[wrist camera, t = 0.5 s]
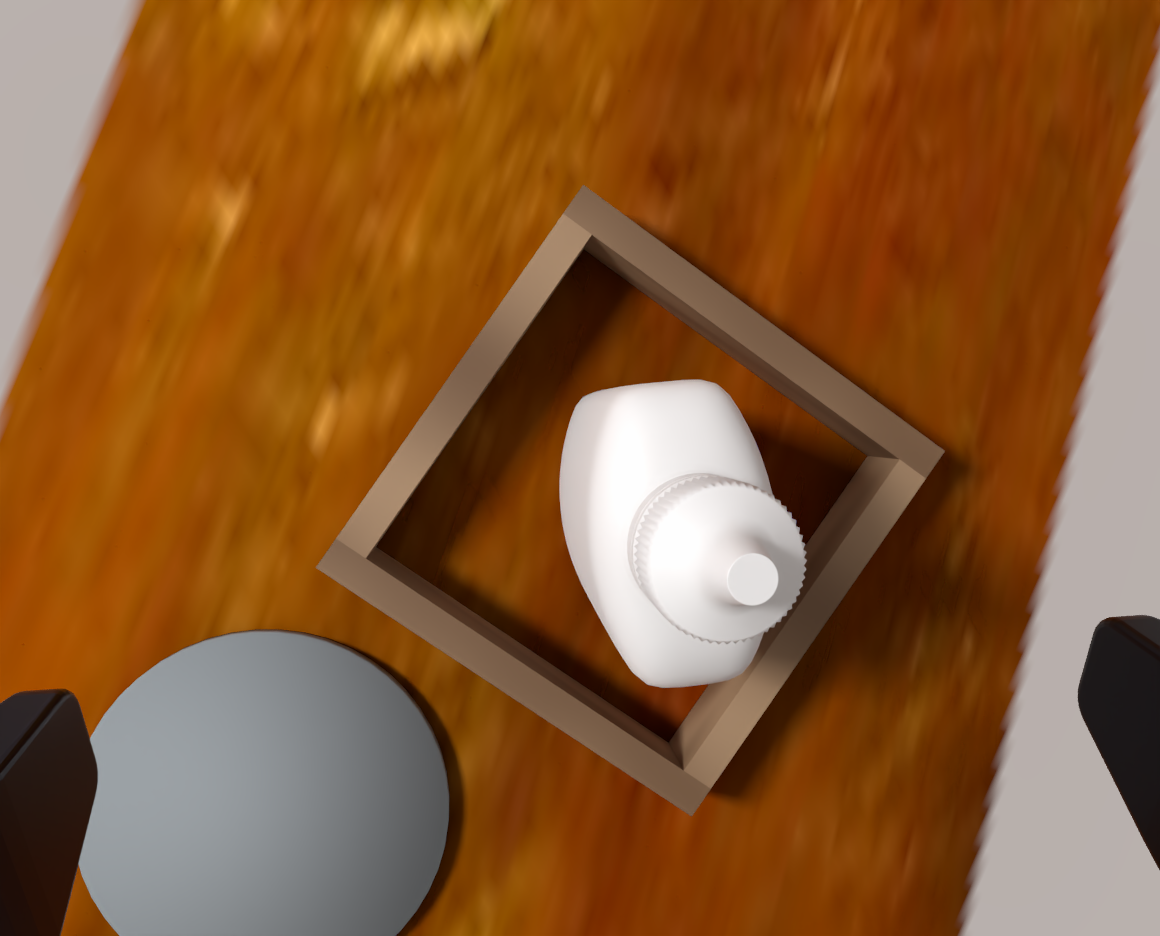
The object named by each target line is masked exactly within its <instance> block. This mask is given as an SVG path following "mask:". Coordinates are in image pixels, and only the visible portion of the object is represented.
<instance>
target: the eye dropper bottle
mask: <svg viewBox="0 0 1160 936" xmlns="http://www.w3.org/2000/svg"><path fill="white" fill-rule="evenodd" d="M560 509H561V517H562V524H563V529H564V534H565V538H566V543H567V547H568V550H569V553H570V556H571V560H572V562H573V565H574V568H575V570H576V573H577V575H578V577H579V579H580V582H581V584H582V586H583V588H584V590H585V592H586V594H587V596H588V598H589V599H590V601H591V603H592V605H593V607H594V609H595V611H596V612H597V614H598V616H599V618H600V620H601V622H602V624H603V625H604V627H605V629H606V631H607V632H608V634H609V636H610V638H611V640H612V641H613V643H614V645H615V647H616V648H617V650H618V651H619V653H620V654H621V656H622V658H623V659H624V661H625V662H626V664H627V665H628V667H629V668H630V670H631V671H632V672H633V673H634V674H635V675H636V676H638V677H639V678H640V679H641V680H642V681H644V682H645V683H646V684H648V685H652V686H656V687H661V688H670V687H686V686H696V685H704V684H711V683H717V682H722V681H727V680H730V679H732V678H734V677H736V676H738V675H740V674H742V673H743V672H744V671H745V669H746V668H747V667H748V666H749V665H750V663H751V662H752V660H753V658H754V656H755V654H756V652H757V650H758V647H759V645H760V642H761V639H762V637H763V634H764V632H768V630H769V628H770V627H775V624H776V622H781V619H782V617H783V616H787V611H788V610H790V609H792V604H793V603H795V602H796V596H798V595H799V594H800V591H799V589H800V588H801V587H803V584H802V581H803V580H804V579H805V576H804V574H803V573H804V572H805V571H806V568H805V566H804V565H805V563H806V562H807V560H806V559H805V558H804V557H805V555H806V551H804V550H803V549H804V546H805V543H803V542H802V538H803V535H800V534H799V531H800V527H797V526H796V520H795V519H792V513H790V512H787V508H786V506H783V505H781V501H780V500H777V499H775V498H774V495H773V494H772V490H771V486H770V482H769V478H768V475H767V472H766V469H765V466H764V463H763V460H762V457H761V454H760V452H759V449H758V447H757V444H756V442H755V439H754V437H753V435H752V433H751V431H750V429H749V427H748V425H747V423H746V421H745V420H744V418H743V416H742V414H741V412H740V410H739V409H738V407H737V406H736V404H735V403H734V401H733V400H732V398H731V397H730V395H729V394H728V393H727V392H726V391H724V390H723V389H722V388H721V387H720V386H719V385H718V384H716V383H713V382H708V381H704V380H700V379H699V380H678V381H667V382H656V383H646V384H636V385H629V386H622V387H616V388H611V389H606V390H601V391H597V392H593V393H591V394H589V395H586V396H584V397H583V398H582V399H581V400H580V401H579V403H578V404H577V405H576V407H575V409H574V412H573V414H572V417H571V420H570V423H569V426H568V430H567V434H566V438H565V442H564V447H563V453H562V459H561V468H560Z"/></svg>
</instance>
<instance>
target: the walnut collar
mask: <svg viewBox="0 0 1160 936" xmlns="http://www.w3.org/2000/svg"><path fill="white" fill-rule="evenodd" d="M583 249H584V250H585V251H587V252H588V253H589V254H591V255H592V256H593V257H595V258H596V259H598V260H599V261H600V262H602V263H603V264H604V265H606V266H607V267H609V268H610V269H611V270H613V271H614V272H615V273H617V274H618V275H620V276H621V277H622V278H624V279H625V280H626V281H628V282H629V283H631V284H632V285H633V286H635V287H636V288H637V289H639V290H640V291H641V292H643V293H644V294H646V295H647V296H648V297H650V298H651V299H652V300H654V301H655V302H657V303H658V304H659V305H661V306H662V307H663V308H665V309H666V310H668V311H669V312H670V313H672V314H673V315H674V316H676V317H677V318H679V319H680V320H681V321H683V322H684V323H685V324H687V325H688V326H690V327H691V328H692V329H694V330H695V331H696V332H698V333H699V334H701V335H702V336H703V337H705V338H706V339H707V340H709V341H710V342H712V343H713V344H714V345H716V346H717V347H718V348H720V349H721V350H723V351H724V352H725V353H727V354H728V355H729V356H731V357H732V358H734V359H735V360H736V361H738V362H739V363H740V364H742V365H743V366H745V367H746V368H747V369H749V370H750V371H751V372H753V373H754V374H756V375H757V376H758V377H760V378H761V379H762V380H764V381H765V382H767V383H768V384H769V385H771V386H772V387H773V388H775V389H776V390H778V391H779V392H780V393H782V394H783V395H784V396H786V397H787V398H789V399H790V400H791V401H793V402H794V403H795V404H797V405H798V406H800V407H801V408H802V409H804V410H805V411H806V412H808V413H809V414H811V415H812V416H813V417H815V418H816V419H817V420H819V421H820V422H822V423H823V424H824V425H826V426H827V427H828V428H830V429H831V430H833V431H834V432H835V433H837V434H838V435H839V436H841V437H842V438H844V439H845V440H846V441H848V442H849V443H850V444H852V445H853V446H855V447H856V448H857V449H859V450H860V451H861V452H863V453H864V454H866V455H867V457H866V459H865V460H864V462H863V463H862V465H861V466H860V468H859V469H858V470H857V472H856V473H855V475H854V476H853V478H852V479H851V481H850V482H849V483H848V485H847V486H846V488H845V489H844V491H843V492H842V494H841V495H840V496H839V498H838V499H837V501H836V502H835V504H834V505H833V506H832V508H831V509H830V511H829V512H828V514H827V515H826V517H825V518H824V519H823V521H822V522H821V524H820V525H819V527H818V528H817V530H816V531H815V532H814V534H813V535H812V537H811V538H810V540H809V541H808V542H807V544H806V545H805V547H804V549H803V550H804V551H806V555H805V557H804V558H805V559H806V560H807V562H806V563H805V565H804V566H805V568H806V571H805V572H804V573H803V574H804V576H805V579H804V580H803V581H802V584H803V587H801V588H800V589H799V591H800V594H799V595H798V596H796V602H795V603H793V604H792V609H790V610H788V611H787V616H783V617H782V619H781V622H776V624H775V627H770V628H769V630H768V632H764V634H763V637H762V639H761V642H760V645H759V647H758V650H757V652H756V654H755V656H754V658H753V660H752V662H751V663H750V665H749V666H748V667H747V668H746V669H745V671H744V672H743V673H742V674H740V675H738V676H736V677H734V678H732V679H730V680H727V681H722V682H717V683H711V684H709V685H708V687H707V688H706V689H705V691H704V692H703V694H702V695H701V697H700V698H699V700H698V701H697V702H696V704H695V705H694V707H693V708H692V710H691V711H690V713H689V714H688V715H687V717H686V718H685V720H684V721H683V723H682V724H681V725H680V727H679V728H678V730H677V731H676V733H675V734H674V736H673V737H672V738H671V740H670V741H669V743H668V742H667V741H665V740H664V739H662V738H661V737H659V736H658V735H656V734H655V733H653V732H652V731H650V730H649V729H647V728H646V727H644V726H643V725H641V724H640V723H638V722H637V721H635V720H634V719H632V718H631V717H629V716H628V715H626V714H625V713H623V712H622V711H620V710H619V709H617V708H616V707H614V706H613V705H611V704H610V703H608V702H607V701H605V700H604V699H602V698H601V697H600V696H598V695H597V694H595V693H594V692H592V691H591V690H589V689H588V688H586V687H585V686H583V685H582V684H580V683H579V682H577V681H576V680H574V679H573V678H571V677H570V676H568V675H567V674H565V673H564V672H562V671H561V670H559V669H558V668H556V667H555V666H553V665H552V664H550V663H549V662H547V661H546V660H544V659H543V658H541V657H540V656H538V655H537V654H535V653H534V652H532V651H531V650H529V649H528V648H526V647H525V646H523V645H522V644H520V643H519V642H517V641H516V640H514V639H513V638H511V637H510V636H508V635H507V634H505V633H504V632H502V631H501V630H499V629H498V628H496V627H495V626H493V625H492V624H491V623H489V622H488V621H486V620H485V619H483V618H482V617H480V616H479V615H477V614H476V613H474V612H473V611H471V610H470V609H468V608H467V607H465V606H464V605H462V604H461V603H459V602H458V601H456V600H455V599H453V598H452V597H450V596H449V595H447V594H446V593H444V592H443V591H441V590H440V589H438V588H437V587H435V586H434V585H432V584H431V583H429V582H428V581H426V580H425V579H423V578H422V577H420V576H419V575H417V574H416V573H414V572H413V571H411V570H410V569H408V568H407V567H405V566H404V565H402V564H401V563H399V562H398V561H396V560H395V559H393V558H392V557H390V556H389V555H387V554H386V553H384V552H383V551H381V550H380V549H379V548H377V547H376V546H377V544H378V543H379V541H380V540H381V539H382V537H383V536H384V534H385V533H386V531H387V530H388V529H389V527H390V526H391V524H392V523H393V521H394V520H395V519H396V517H397V516H398V514H399V513H400V511H401V510H402V508H403V507H404V506H405V504H406V503H407V501H408V500H409V498H410V497H411V496H412V494H413V493H414V491H415V490H416V488H417V487H418V486H419V484H420V483H421V481H422V480H423V478H424V477H425V476H426V474H427V473H428V471H429V470H430V468H431V467H432V466H433V464H434V463H435V461H436V460H437V458H438V457H439V456H440V454H441V453H442V451H443V450H444V448H445V447H446V445H447V444H448V443H449V441H450V440H451V438H452V437H453V435H454V434H455V433H456V431H457V430H458V428H459V427H460V425H461V424H462V423H463V421H464V420H465V418H466V417H467V415H468V414H469V413H470V411H471V410H472V408H473V407H474V405H475V404H476V403H477V401H478V400H479V398H480V397H481V395H482V394H483V393H484V391H485V390H486V388H487V387H488V385H489V384H490V382H491V381H492V380H493V378H494V377H495V375H496V374H497V372H498V371H499V370H500V368H501V367H502V365H503V364H504V362H505V361H506V360H507V358H508V357H509V355H510V354H511V352H512V351H513V350H514V348H515V347H516V345H517V344H518V342H519V341H520V340H521V338H522V337H523V335H524V334H525V332H526V331H527V330H528V328H529V327H530V325H531V324H532V322H533V321H534V319H535V318H536V317H537V315H538V314H539V312H540V311H541V309H542V308H543V307H544V305H545V304H546V302H547V301H548V299H549V298H550V297H551V295H552V294H553V292H554V291H555V289H556V288H557V287H558V285H559V284H560V282H561V281H562V279H563V278H564V277H565V275H566V274H567V272H568V271H569V269H570V268H571V267H572V265H573V264H574V262H575V261H576V259H577V258H578V257H579V255H580V254H581V252H582V251H583ZM944 452H945V451H944V450H943V449H941V448H940V447H939V446H937V445H936V444H935V443H933V442H932V441H931V440H929V439H928V438H926V437H925V436H924V435H922V434H921V433H920V432H918V431H917V430H916V429H914V428H913V427H912V426H910V425H909V424H907V423H906V422H905V421H903V420H902V419H901V418H899V417H898V416H897V415H895V414H894V413H893V412H891V411H890V410H888V409H887V408H886V407H884V406H883V405H882V404H880V403H879V402H878V401H876V400H875V399H874V398H872V397H871V396H869V395H868V394H867V393H865V392H864V391H863V390H861V389H860V388H859V387H857V386H856V385H854V384H853V383H852V382H850V381H849V380H848V379H846V378H845V377H844V376H842V375H841V374H840V373H838V372H837V371H835V370H834V369H833V368H831V367H830V366H829V365H827V364H826V363H825V362H823V361H822V360H821V359H819V358H818V357H816V356H815V355H814V354H812V353H811V352H810V351H808V350H807V349H806V348H804V347H803V346H802V345H800V344H799V343H797V342H796V341H795V340H793V339H792V338H791V337H789V336H788V335H787V334H785V333H784V332H782V331H781V330H780V329H778V328H777V327H776V326H774V325H773V324H772V323H770V322H769V321H768V320H766V319H765V318H763V317H762V316H761V315H759V314H758V313H757V312H755V311H754V310H753V309H751V308H750V307H749V306H747V305H746V304H744V303H743V302H742V301H740V300H739V299H738V298H736V297H735V296H734V295H732V294H731V293H730V292H728V291H727V290H725V289H724V288H723V287H721V286H720V285H719V284H717V283H716V282H715V281H713V280H712V279H710V278H709V277H708V276H706V275H705V274H704V273H702V272H701V271H700V270H698V269H697V268H696V267H694V266H693V265H691V264H690V263H689V262H687V261H686V260H685V259H683V258H682V257H681V256H679V255H678V254H677V253H675V252H674V251H672V250H671V249H670V248H668V247H667V246H666V245H664V244H663V243H662V242H660V241H659V240H658V239H656V238H655V237H653V236H652V235H651V234H649V233H648V232H647V231H645V230H644V229H643V228H641V227H640V226H638V225H637V224H636V223H634V222H633V221H632V220H630V219H629V218H628V217H626V216H625V215H624V214H622V213H621V212H619V211H618V210H617V209H615V208H614V207H613V206H611V205H610V204H609V203H607V202H606V201H605V200H603V199H602V198H600V197H599V196H598V195H596V194H595V193H594V192H592V191H591V190H590V189H588V188H587V187H586V186H584V185H583V186H582V188H581V189H580V190H579V192H578V193H577V195H576V196H575V198H574V199H573V200H572V202H571V203H570V205H569V206H568V208H567V209H566V210H565V212H564V213H563V215H562V216H561V218H560V219H559V220H558V222H557V223H556V225H555V226H554V228H553V229H552V230H551V232H550V233H549V235H548V236H547V238H546V239H545V240H544V242H543V243H542V245H541V246H540V248H539V249H538V250H537V252H536V253H535V255H534V256H533V258H532V259H531V261H530V262H529V263H528V265H527V266H526V268H525V269H524V271H523V272H522V273H521V275H520V276H519V278H518V279H517V281H516V282H515V283H514V285H513V286H512V288H511V289H510V291H509V292H508V293H507V295H506V296H505V298H504V299H503V301H502V302H501V303H500V305H499V306H498V308H497V309H496V311H495V312H494V313H493V315H492V316H491V318H490V319H489V321H488V322H487V323H486V325H485V326H484V328H483V329H482V331H481V332H480V333H479V335H478V336H477V338H476V339H475V341H474V342H473V343H472V345H471V346H470V348H469V349H468V351H467V352H466V354H465V355H464V356H463V358H462V359H461V361H460V362H459V364H458V365H457V366H456V368H455V369H454V371H453V372H452V374H451V375H450V376H449V378H448V379H447V381H446V382H445V384H444V385H443V386H442V388H441V389H440V391H439V392H438V394H437V395H436V396H435V398H434V399H433V401H432V402H431V404H430V405H429V406H428V408H427V409H426V411H425V412H424V414H423V415H422V416H421V418H420V419H419V421H418V422H417V424H416V425H415V426H414V428H413V429H412V431H411V432H410V434H409V435H408V436H407V438H406V439H405V441H404V442H403V444H402V445H401V447H400V448H399V449H398V451H397V452H396V454H395V455H394V457H393V458H392V459H391V461H390V462H389V464H388V465H387V467H386V468H385V469H384V471H383V472H382V474H381V475H380V477H379V478H378V479H377V481H376V482H375V484H374V485H373V487H372V488H371V489H370V491H369V492H368V494H367V495H366V497H365V498H364V499H363V501H362V502H361V504H360V505H359V507H358V508H357V509H356V511H355V512H354V514H353V515H352V517H351V518H350V519H349V521H348V522H347V524H346V525H345V527H344V528H343V529H342V531H341V532H340V534H339V535H338V537H337V538H336V540H335V541H334V542H333V544H332V545H331V547H330V548H329V550H328V551H327V552H326V554H325V555H324V557H323V558H322V560H321V561H320V562H319V564H318V565H317V567H316V568H317V569H319V570H320V571H322V572H323V573H325V574H326V575H328V576H329V577H331V578H332V579H334V580H335V581H337V582H338V583H340V584H341V585H343V586H344V587H346V588H347V589H349V590H350V591H352V592H353V593H355V594H356V595H358V596H359V597H361V598H362V599H364V600H365V601H367V602H368V603H370V604H371V605H373V606H374V607H376V608H377V609H379V610H381V611H382V612H384V613H385V614H387V615H388V616H390V617H391V618H393V619H394V620H396V621H397V622H399V623H400V624H402V625H403V626H405V627H406V628H408V629H409V630H411V631H412V632H414V633H415V634H417V635H418V636H420V637H421V638H423V639H424V640H426V641H427V642H429V643H430V644H432V645H433V646H435V647H436V648H438V649H439V650H441V651H442V652H444V653H445V654H447V655H448V656H450V657H452V658H453V659H455V660H456V661H458V662H459V663H461V664H462V665H464V666H465V667H467V668H468V669H470V670H471V671H473V672H474V673H476V674H477V675H479V676H480V677H482V678H483V679H485V680H486V681H488V682H489V683H491V684H492V685H494V686H495V687H497V688H498V689H500V690H501V691H503V692H504V693H506V694H507V695H509V696H510V697H512V698H513V699H515V700H516V701H518V702H520V703H521V704H523V705H524V706H526V707H527V708H529V709H530V710H532V711H533V712H535V713H536V714H538V715H539V716H541V717H542V718H544V719H545V720H547V721H548V722H550V723H551V724H553V725H554V726H556V727H557V728H559V729H560V730H562V731H563V732H565V733H566V734H568V735H569V736H571V737H572V738H574V739H575V740H577V741H578V742H580V743H581V744H583V745H584V746H586V747H587V748H589V749H591V750H592V751H594V752H595V753H597V754H598V755H600V756H601V757H603V758H604V759H606V760H607V761H609V762H610V763H612V764H613V765H615V766H616V767H618V768H619V769H621V770H622V771H624V772H625V773H627V774H628V775H630V776H631V777H633V778H634V779H636V780H637V781H639V782H640V783H642V784H643V785H645V786H646V787H648V788H649V789H651V790H652V791H654V792H655V793H657V794H659V795H660V796H662V797H663V798H665V799H666V800H668V801H669V802H671V803H672V804H674V805H675V806H677V807H678V808H680V809H681V810H683V811H684V812H686V813H687V814H689V815H690V816H692V815H693V814H694V812H695V811H696V809H697V808H698V807H699V805H700V804H701V802H702V801H703V799H704V798H705V797H706V795H707V794H708V792H709V791H710V789H711V788H712V786H713V785H714V784H715V782H716V781H717V779H718V778H719V776H720V775H721V773H722V772H723V771H724V769H725V768H726V766H727V765H728V763H729V762H730V760H731V759H732V758H733V756H734V755H735V753H736V752H737V750H738V749H739V747H740V746H741V745H742V743H743V742H744V740H745V739H746V737H747V736H748V734H749V733H750V732H751V730H752V729H753V727H754V726H755V724H756V723H757V721H758V720H759V719H760V717H761V716H762V714H763V713H764V711H765V710H766V709H767V707H768V706H769V704H770V703H771V701H772V700H773V698H774V697H775V696H776V694H777V693H778V691H779V690H780V688H781V687H782V685H783V684H784V683H785V681H786V680H787V678H788V677H789V675H790V674H791V672H792V671H793V670H794V668H795V667H796V665H797V664H798V662H799V661H800V659H801V658H802V657H803V655H804V654H805V652H806V651H807V649H808V648H809V646H810V645H811V644H812V642H813V641H814V639H815V638H816V636H817V635H818V634H819V632H820V631H821V629H822V628H823V626H824V625H825V623H826V622H827V621H828V619H829V618H830V616H831V615H832V613H833V612H834V610H835V609H836V608H837V606H838V605H839V603H840V602H841V600H842V599H843V597H844V596H845V595H846V593H847V592H848V590H849V589H850V587H851V586H852V584H853V583H854V582H855V580H856V579H857V577H858V576H859V574H860V573H861V571H862V570H863V569H864V567H865V566H866V564H867V563H868V561H869V560H870V559H871V557H872V556H873V554H874V553H875V551H876V550H877V548H878V547H879V546H880V544H881V543H882V541H883V540H884V538H885V537H886V535H887V534H888V533H889V531H890V530H891V528H892V527H893V525H894V524H895V522H896V521H897V520H898V518H899V517H900V515H901V514H902V512H903V511H904V509H905V508H906V507H907V505H908V504H909V502H910V501H911V499H912V498H913V496H914V495H915V494H916V492H917V491H918V489H919V488H920V486H921V485H922V483H923V482H924V481H925V479H926V478H927V476H928V475H929V473H930V472H931V471H932V469H933V468H934V466H935V465H936V463H937V462H938V460H939V459H940V458H941V456H942V455H943V453H944Z"/></svg>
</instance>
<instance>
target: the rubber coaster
mask: <svg viewBox="0 0 1160 936" xmlns="http://www.w3.org/2000/svg"><path fill="white" fill-rule="evenodd" d="M90 741H91V745H92V748H93V751H94V755H95V758H96V762H97V768H98V784H97V791H96V796H95V800H94V804H93V808H92V812H91V816H90V820H89V824H88V828H87V832H86V836H85V840H84V844H83V848H82V852H81V856H80V860H79V867H80V870H81V874H82V877H83V879H84V881H85V883H86V886H87V888H88V890H89V892H90V895H91V897H92V899H93V900H94V902H95V903H96V905H97V907H98V908H99V910H100V911H101V913H102V915H103V916H104V918H105V919H106V920H107V921H108V923H109V924H110V925H111V926H112V927H113V929H114V930H115V931H116V932H117V933H118V935H119V936H396V935H397V934H398V933H399V932H400V931H401V930H402V929H403V927H404V926H405V925H406V924H407V922H408V921H409V920H410V918H411V917H412V916H413V915H414V913H415V912H416V911H417V909H418V908H419V906H420V904H421V903H422V901H423V899H424V898H425V896H426V894H427V893H428V891H429V889H430V887H431V885H432V882H433V880H434V878H435V875H436V873H437V871H438V868H439V865H440V862H441V858H442V855H443V851H444V848H445V842H446V836H447V829H448V822H449V787H448V779H447V771H446V767H445V763H444V760H443V756H442V752H441V749H440V746H439V744H438V741H437V739H436V736H435V734H434V732H433V729H432V727H431V725H430V724H429V722H428V720H427V719H426V717H425V715H424V713H423V712H422V710H421V708H420V707H419V706H418V704H417V703H416V702H415V700H414V699H413V698H412V697H411V695H410V694H409V693H408V691H407V690H406V689H405V688H404V687H403V686H402V685H401V684H400V683H399V682H398V681H397V680H396V679H395V678H394V677H393V676H392V675H391V674H390V673H388V672H387V671H386V670H384V669H383V668H382V667H380V666H379V665H378V664H376V663H375V662H374V661H372V660H371V659H369V658H367V657H366V656H364V655H362V654H360V653H359V652H357V651H355V650H353V649H351V648H349V647H347V646H344V645H342V644H340V643H337V642H335V641H332V640H330V639H327V638H323V637H319V636H315V635H311V634H308V633H303V632H295V631H287V630H248V631H240V632H232V633H228V634H224V635H220V636H216V637H212V638H209V639H206V640H203V641H201V642H198V643H196V644H193V645H191V646H188V647H185V648H183V649H182V650H180V651H178V652H176V653H174V654H173V655H171V656H169V657H167V658H165V659H164V660H162V661H161V662H159V663H158V664H157V665H155V666H154V667H153V668H151V669H150V670H148V671H147V672H146V673H144V674H143V675H142V676H140V677H139V678H138V679H137V680H136V681H135V682H133V683H132V684H131V685H130V686H129V687H128V688H127V689H126V690H125V691H124V692H123V693H122V694H121V695H120V696H119V697H118V698H117V700H116V701H115V702H114V703H113V705H112V706H111V707H110V708H109V710H108V711H107V712H106V713H105V715H104V716H103V718H102V719H101V721H100V723H99V724H98V726H97V728H96V729H95V731H94V733H93V734H92V736H91V738H90Z"/></svg>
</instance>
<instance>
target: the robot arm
mask: <svg viewBox="0 0 1160 936" xmlns="http://www.w3.org/2000/svg"><path fill="white" fill-rule="evenodd" d="M1078 703H1079V708H1080V711H1081V715H1082V717H1083V719H1084V721H1085V723H1086V725H1087V727H1088V730H1089V731H1090V734H1091V735H1092V738H1093V740H1094V742H1095V743H1096V746H1097V748H1098V750H1099V752H1100V754H1101V756H1102V758H1103V759H1104V762H1105V764H1106V766H1107V768H1108V770H1109V772H1110V774H1111V776H1112V778H1113V780H1114V782H1115V784H1116V786H1117V788H1118V790H1119V792H1120V794H1121V796H1122V798H1123V800H1124V802H1125V804H1126V806H1127V808H1128V810H1129V812H1130V814H1131V816H1132V818H1133V820H1134V822H1135V824H1136V826H1137V828H1138V830H1139V832H1140V834H1141V836H1142V838H1143V840H1144V842H1145V844H1146V846H1147V848H1148V849H1149V851H1150V853H1151V855H1152V857H1153V859H1154V861H1155V863H1156V864H1157V866H1158V868H1159V870H1160V620H1159V619H1157V618H1155V617H1152V616H1147V615H1135V616H1121V617H1109V618H1106V619H1104V620H1102V621H1101V622H1100V623H1099V624H1098V626H1097V627H1096V629H1095V631H1094V634H1093V637H1092V641H1091V644H1090V648H1089V651H1088V655H1087V659H1086V662H1085V665H1084V669H1083V673H1082V676H1081V680H1080V683H1079V688H1078ZM97 784H98V768H97V762H96V758H95V755H94V751H93V748H92V745H91V741H90V738H89V735H88V731H87V728H86V725H85V721H84V718H83V715H82V711H81V708H80V705H79V702H78V700H77V698H76V697H75V695H74V694H73V693H72V692H70V691H68V690H66V689H49V690H34V691H23V692H19V693H16V694H14V695H12V696H11V697H9V698H8V699H6V700H5V701H3V702H2V703H0V936H60V935H61V931H62V927H63V923H64V919H65V915H66V912H67V908H68V904H69V900H70V896H71V892H72V888H73V884H74V880H75V876H76V872H77V868H78V864H79V860H80V856H81V852H82V848H83V844H84V840H85V836H86V832H87V828H88V824H89V820H90V816H91V812H92V808H93V804H94V800H95V796H96V791H97Z"/></svg>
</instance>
